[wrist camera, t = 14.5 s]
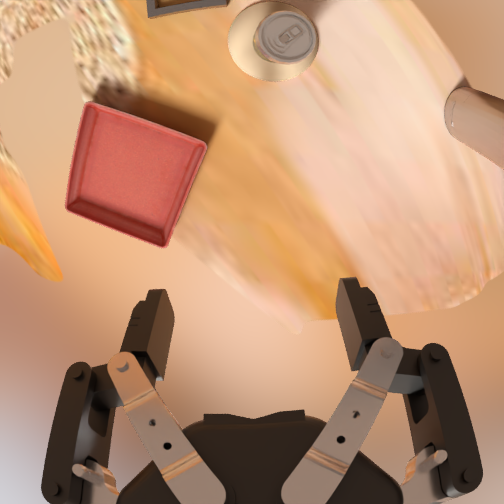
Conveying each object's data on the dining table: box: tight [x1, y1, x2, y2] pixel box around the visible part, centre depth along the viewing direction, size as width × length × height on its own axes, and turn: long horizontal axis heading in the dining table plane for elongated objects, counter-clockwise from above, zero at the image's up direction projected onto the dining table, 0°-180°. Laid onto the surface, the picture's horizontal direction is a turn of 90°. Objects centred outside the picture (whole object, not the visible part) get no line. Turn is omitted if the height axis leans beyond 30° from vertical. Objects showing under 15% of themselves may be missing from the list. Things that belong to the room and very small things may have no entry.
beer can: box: [252, 11, 316, 65], centre depth 26 cm, size 5×5×12 cm
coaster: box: [228, 2, 318, 82], centre depth 31 cm, size 11×11×1 cm
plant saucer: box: [65, 101, 207, 248], centre depth 40 cm, size 18×18×3 cm
